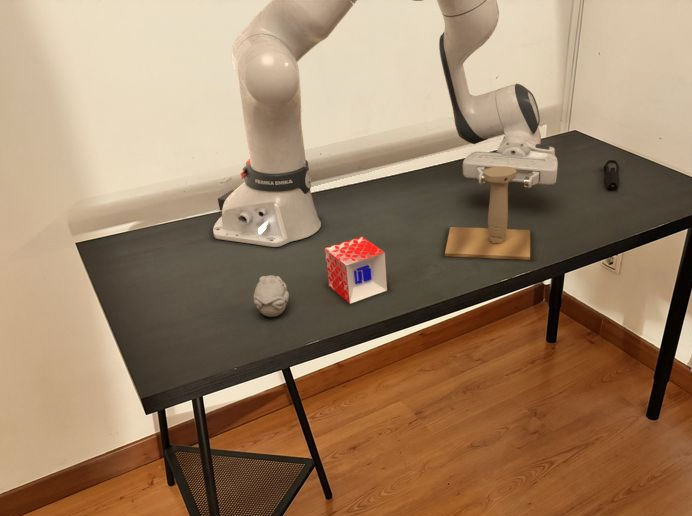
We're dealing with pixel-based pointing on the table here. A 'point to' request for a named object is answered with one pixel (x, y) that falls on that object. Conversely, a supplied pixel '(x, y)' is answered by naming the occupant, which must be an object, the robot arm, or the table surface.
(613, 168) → the electric trimmer
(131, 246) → the table surface
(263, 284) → the frog figurine
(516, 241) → the oak board
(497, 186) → the handle
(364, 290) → the red and white cube
